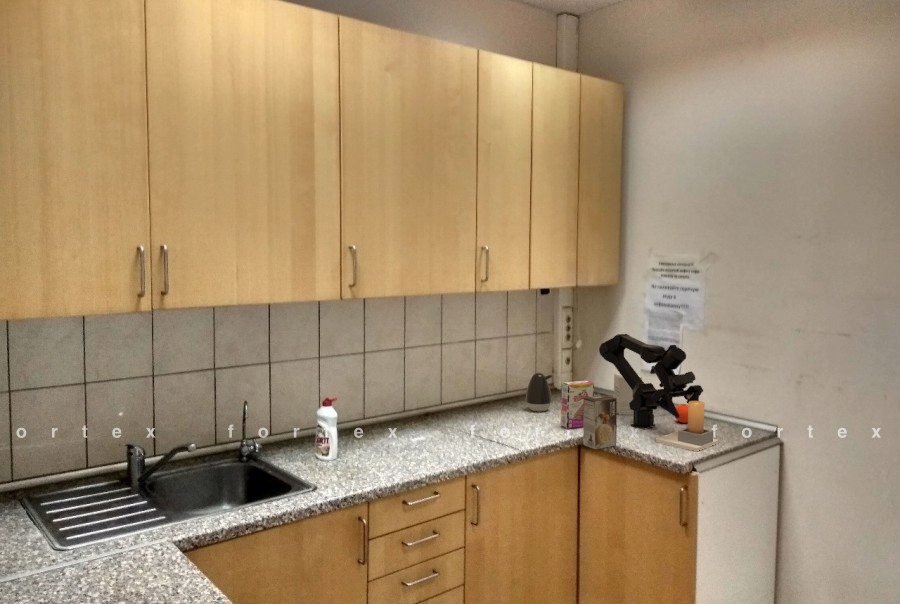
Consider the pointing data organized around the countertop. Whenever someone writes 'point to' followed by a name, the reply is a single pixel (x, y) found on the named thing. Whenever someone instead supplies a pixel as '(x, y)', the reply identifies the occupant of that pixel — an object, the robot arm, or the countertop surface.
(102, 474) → the countertop surface
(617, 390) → the supplement box
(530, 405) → the pump dispenser
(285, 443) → the countertop surface
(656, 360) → the robot arm
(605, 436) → the coffee box
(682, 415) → the clementine
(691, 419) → the orange rounded part
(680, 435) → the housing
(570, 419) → the candy bar box
